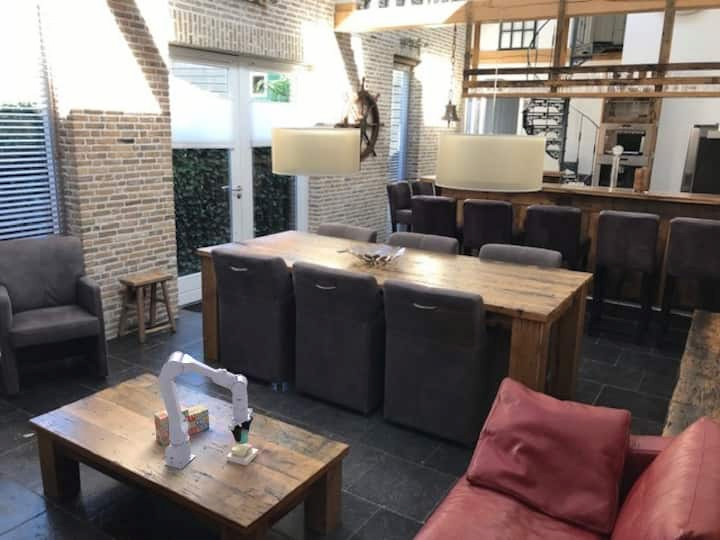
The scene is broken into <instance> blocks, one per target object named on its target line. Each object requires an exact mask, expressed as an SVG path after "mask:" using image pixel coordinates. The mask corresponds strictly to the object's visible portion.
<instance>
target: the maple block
mask: <svg viewBox="0 0 720 540" xmlns="http://www.w3.org/2000/svg"><path fill="white" fill-rule="evenodd" d="M253 448H254V447H253V445H251V444H249V443H245V444H237V443H236V445H234V446H233V447H232V448H231V449H230V453H231V455H233V456H237V457H240V458H245V457H246V456H247V455H249V454H250V453H251V452H252V451H253Z"/></svg>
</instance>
